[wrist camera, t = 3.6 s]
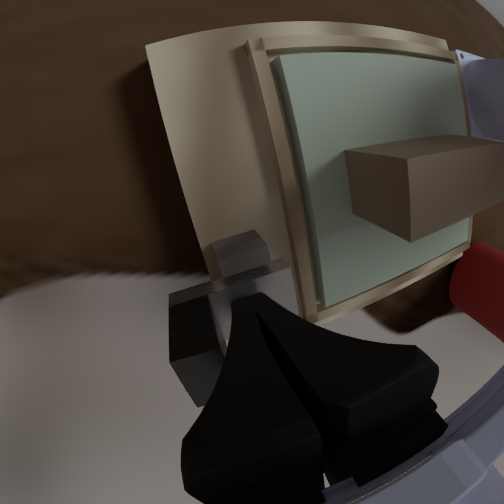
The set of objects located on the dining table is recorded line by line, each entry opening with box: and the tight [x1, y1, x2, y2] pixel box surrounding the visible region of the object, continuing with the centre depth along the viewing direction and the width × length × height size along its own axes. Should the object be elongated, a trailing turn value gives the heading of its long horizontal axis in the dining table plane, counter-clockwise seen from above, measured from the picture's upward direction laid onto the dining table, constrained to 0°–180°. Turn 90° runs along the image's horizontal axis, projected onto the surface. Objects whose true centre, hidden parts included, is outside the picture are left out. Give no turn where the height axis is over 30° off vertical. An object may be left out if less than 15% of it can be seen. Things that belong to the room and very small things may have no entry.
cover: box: [272, 52, 504, 307], centre depth 11 cm, size 12×12×5 cm
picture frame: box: [146, 21, 473, 326], centre depth 13 cm, size 18×16×4 cm
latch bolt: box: [169, 258, 299, 407], centre depth 11 cm, size 5×2×4 cm, turn 103°
